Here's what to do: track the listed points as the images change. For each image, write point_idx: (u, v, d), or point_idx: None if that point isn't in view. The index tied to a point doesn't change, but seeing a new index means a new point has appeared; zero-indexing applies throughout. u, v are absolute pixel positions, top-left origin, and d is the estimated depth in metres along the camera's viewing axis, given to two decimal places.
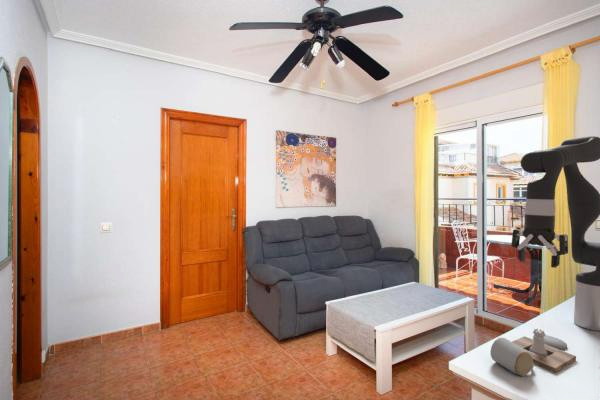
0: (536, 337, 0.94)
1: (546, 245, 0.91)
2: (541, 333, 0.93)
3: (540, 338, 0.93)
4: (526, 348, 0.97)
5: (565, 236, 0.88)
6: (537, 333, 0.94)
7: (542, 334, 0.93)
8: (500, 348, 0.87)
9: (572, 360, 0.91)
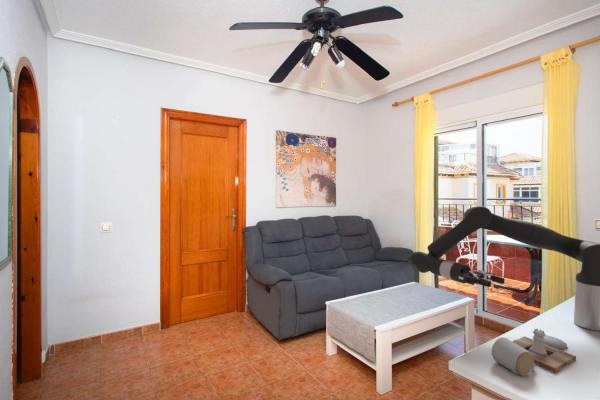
0: (536, 337, 0.94)
1: None
2: (541, 333, 0.93)
3: (540, 338, 0.93)
4: (526, 348, 0.97)
5: (459, 278, 1.11)
6: (537, 333, 0.94)
7: (542, 334, 0.93)
8: (501, 348, 0.87)
9: (572, 360, 0.91)
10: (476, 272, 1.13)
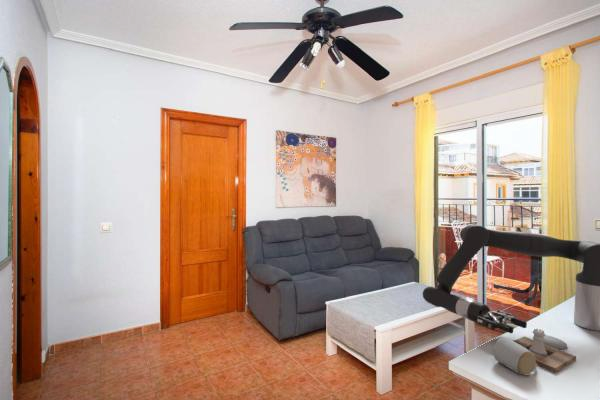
0: (536, 337, 0.94)
1: None
2: (541, 333, 0.93)
3: (540, 338, 0.94)
4: (526, 348, 0.97)
5: (478, 320, 1.05)
6: (537, 333, 0.94)
7: (542, 334, 0.93)
8: (503, 348, 0.87)
9: (572, 360, 0.91)
10: (495, 313, 1.07)
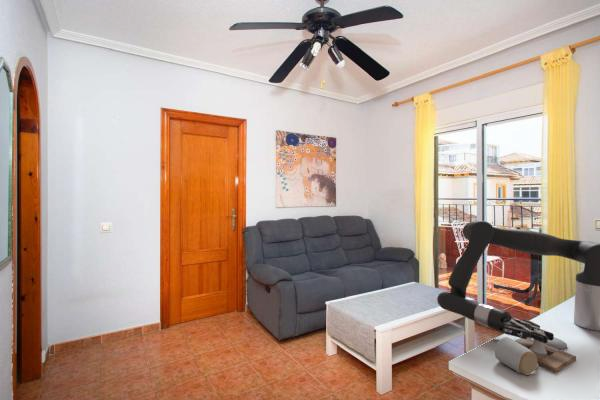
0: None
1: None
2: (541, 333, 0.93)
3: None
4: None
5: (506, 331, 0.97)
6: None
7: None
8: (504, 347, 0.87)
9: (572, 360, 0.91)
10: (517, 321, 1.01)
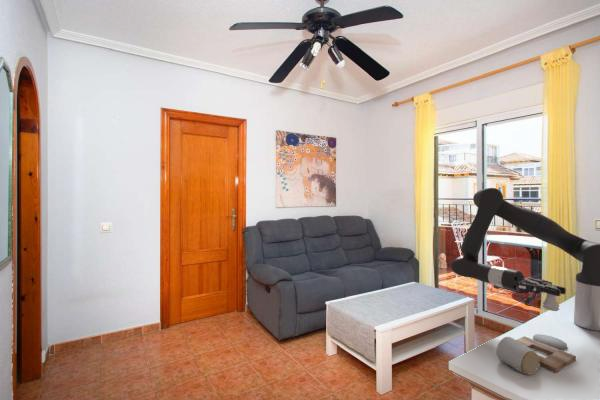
0: None
1: None
2: (554, 287, 0.99)
3: None
4: None
5: (520, 287, 1.02)
6: None
7: None
8: (506, 347, 0.88)
9: (572, 360, 0.91)
10: (530, 279, 1.06)
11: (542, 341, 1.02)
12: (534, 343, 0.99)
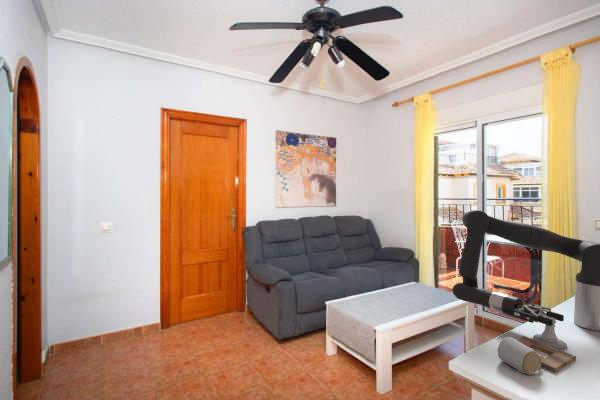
0: None
1: None
2: None
3: None
4: None
5: (515, 314, 1.06)
6: None
7: (553, 321, 1.01)
8: (507, 347, 0.88)
9: (572, 360, 0.91)
10: (531, 307, 1.08)
11: (542, 341, 1.02)
12: (534, 343, 0.99)
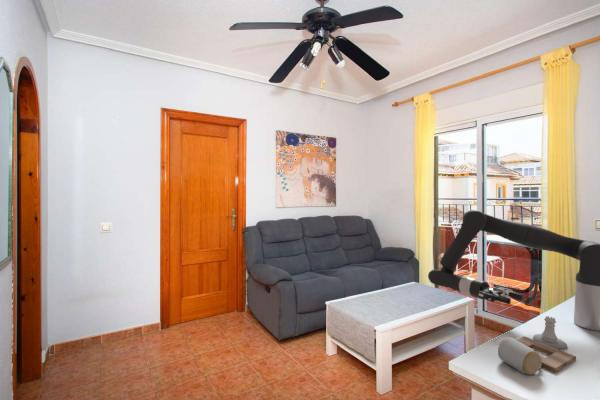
0: (547, 324, 1.02)
1: None
2: (552, 320, 1.01)
3: (551, 324, 1.02)
4: None
5: (479, 295, 1.17)
6: (548, 320, 1.02)
7: (553, 321, 1.01)
8: (508, 347, 0.87)
9: (572, 360, 0.91)
10: (495, 289, 1.20)
11: (542, 341, 1.02)
12: (534, 343, 0.99)
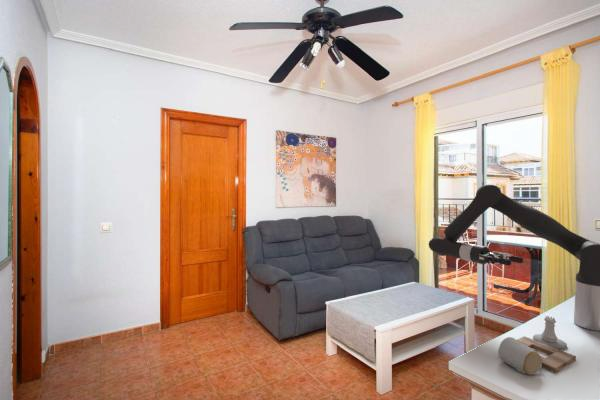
0: (547, 324, 1.02)
1: None
2: (552, 320, 1.01)
3: (551, 324, 1.02)
4: None
5: (479, 258, 1.17)
6: (548, 320, 1.02)
7: (553, 321, 1.01)
8: (508, 348, 0.87)
9: (572, 360, 0.91)
10: (495, 253, 1.19)
11: (542, 341, 1.02)
12: (534, 343, 0.99)
